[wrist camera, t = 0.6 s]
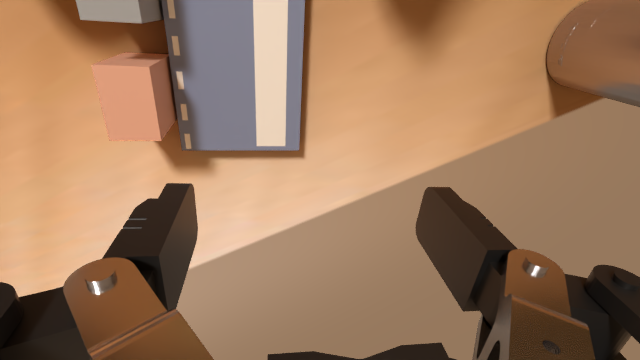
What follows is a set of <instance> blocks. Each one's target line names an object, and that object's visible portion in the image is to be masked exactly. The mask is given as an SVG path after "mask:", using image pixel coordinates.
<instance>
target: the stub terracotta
mask: <svg viewBox="0 0 640 360" xmlns="http://www.w3.org/2000/svg"><path fill="white" fill-rule="evenodd" d="M91 66H92V70H93V74H94V78H95V83H96V87H97V91H98V95H99V99H100V103H101V108H102V112H103V116H104V120H105V124H106V128H107V132H108V137H109V141H162V139H163V138H164V136H165V135H166V134H167V132H168V131H169V129H170V128H171V127H172V125H173V124H174V122H175V121H176V120H177V111H176V103H175V96H174V89H173V81H172V74H171V67H170V59H169V54H153V53H131V52H124V53H121V54H119V55H116V56H113V57H111V58H108V59H105V60H102V61H100V62H97V63H94V64H92V65H91Z"/></svg>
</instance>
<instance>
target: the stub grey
mask: <svg viewBox="0 0 640 360" xmlns="http://www.w3.org/2000/svg"><path fill="white" fill-rule="evenodd" d="M76 4H77V8H78V12H79V16H80V20H91V21H108V22H125V23H147V22H153V21H158V20H164V15H163V8H162V1H161V0H76Z"/></svg>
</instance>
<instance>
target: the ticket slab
mask: <svg viewBox="0 0 640 360" xmlns="http://www.w3.org/2000/svg"><path fill="white" fill-rule="evenodd" d="M161 1H162V8H163V15H164V23H165V30H166V37H167V45H168V52H169V59H170V67H171V74H172V81H173V89H174V96H175V103H176V111H177V118H178V125H179V133H180V140H181V147H182V150H299V142H300V116H301V90H302V64H303V38H304V12H305V0H161Z"/></svg>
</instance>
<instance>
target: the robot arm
mask: <svg viewBox="0 0 640 360" xmlns="http://www.w3.org/2000/svg"><path fill="white" fill-rule="evenodd" d="M547 68H548V71H549V74H550V76H551V77H552V79H553V80H554V81H555V82H557V83H558V84H560V85H563V86H567V87H570V88H574V89H577V90H581V91H584V92H588V93H591V94H594V95H598V96H601V97H605V98H609V99H612V100H616V101H620V102H623V103H627V104H630V105H634V106H638V107H640V0H590V1H588V2H585V3H583V4H582V5H580V6H578V7H577V8H575V9H574V10H573V11H572V12H571V13H569V14H568V15H567V16H566V17H565V19H564V20H563V21H562V22H561V23H560V25H559V26H558V28H557V29H556V31H555V33H554V35H553V37H552V39H551V41H550V44H549V48H548V52H547ZM197 231H198V226H197V215H196V205H195V194H194V187H193V185H192V184H178V183H168V184H166V186H165V187H164V189H163V191H162V193H161V194H160V196H159V198H158V199H147V200H146V201H144V202H143V203H141V204H140V205H138V206H137V207H136V208H135V209H134V211H133V212H132V214H131V215H130V217H129V220H127V221H126V223H125V224H124V226H123V229H121V231H120V232H119V234H118V235H117V237H116V238H115V240H114V241H113V243H112V244H111V246H110V247H109V249H108V250H107V252H106V253H105V255H104V257H103V258H102V259H100V260H96V261H93V262H91V263H88V264H86V265H84V266H82V267H81V268H79V269H77V270H76V271H75V272H74V273H72V274H71V275H70V276H69V277H68V279H67V280H66V281H65V284H64V286H63V287H60V288H56V289H52V290H48V291H44V292H40V293H35V294H31V295H27V296H23V297H18V295H17V293H16V291H15V289H14V288H13V286H11V285H9V284H7V283H2V282H0V360H214V359H213V357H212V356H211V355H210V353H209V352H208V351H207V349H206V348H205V347H204V345H203V344H202V342H201V341H200V340H199V338H198V337H197V336H196V334H195V333H194V332H193V330H192V329H191V327H190V326H189V325H188V323H187V322H186V321H185V319H184V318H183V317H182V315H181V314H180V313H179V312H178V311H177V310H176V307H177V303H178V300H179V296H180V293H181V290H182V287H183V284H184V280H185V277H186V274H187V271H188V267H189V264H190V261H191V258H192V254H193V251H194V248H195V245H196V240H197ZM416 235H417V238H418V240H419V242H420V244H421V245H422V247H423V249H424V250H425V252H426V253H427V255H428V256H429V258H430V260H431V261H432V263H433V264H434V266H435V267H436V269H437V271H438V272H439V274H440V275H441V277H442V279H443V280H444V282H445V283H446V285H447V286H448V288H449V290H450V291H451V293H452V295H453V296H454V298H455V299H456V301H457V302H458V304H459V306H460V307H461V309H462V310H463V311H480V312H481V313H482V315H481V318H480V320H479V323H478V328H477V335H476V341H475V347H474V353H473V359H472V360H626V358H624V356H623V355H622V354H621V353H620V350H621V349H622V347H623V346H624V345H625V344H626V342H627V341H628V340H629V338H630V337H631V336H633V337H634V338H635V339H636V340H637V341H638V342H639V343H640V277H638V276H636V275H634V274H633V273H630V272H628V271H626V270H623V269H621V268H617V267H614V266H609V265H598V266H595V267H594V268H593V270H592V272H591V273H590V275H589V277H588V278H583V277H578V276H573V275H568V274H564V272H563V270H562V269H561V268H560V266H558V265H557V264H556V263H555V262H554V261H552V260H551V259H549V258H547V257H546V256H544V255H541V254H539V253H537V252H534V251H530V250H525V249H517V248H516V247H515V246H514V245H513V244H512V243H511V242H510V241H509V240H508V239H507V238H506V237H505V236H504V235H503V234H502V233H501V232H500V231H499V230H498V229H497V228H496V227H493V224H492V223H491V222H490V221H489V220H488V219H486V217H485V216H484V215H483V214H482V213H481V212H480V211H479V210H478V209H477V208H475V207H473V206H472V205H470V204H468V203H467V202H465V201H463V200H462V199H461V198H460V197H459V196H458V195H457V194H456V193H455V192H454V191H453V190H452V189H451V188H450V187H428V188H427V189H426V190H425V192H424V195H423V199H422V203H421V207H420V211H419V215H418V218H417V222H416ZM268 360H456V359H452V358H449V357H448V355H447V353H446V351H445V349H444V347H443V345H442V343H430V344H415V345H401V346H398V347H396V348H393V349H390V350H387V351H384V352H382V353H379V354H376V355H373V356H370V357H368V358H364V359H354V358H348V357H342V356H337V355H331V354H325V353H319V352H314V351H312V352H298V353H282V354H268Z"/></svg>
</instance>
